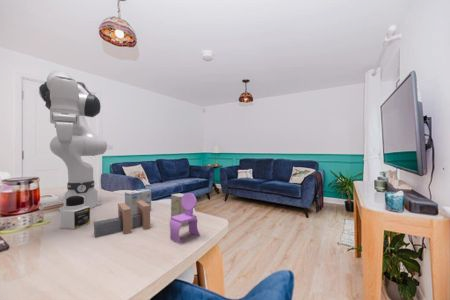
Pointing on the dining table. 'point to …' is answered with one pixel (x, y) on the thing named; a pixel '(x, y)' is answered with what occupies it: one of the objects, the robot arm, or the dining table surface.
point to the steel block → (115, 225)
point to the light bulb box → (137, 198)
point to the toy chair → (184, 218)
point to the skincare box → (177, 205)
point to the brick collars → (140, 208)
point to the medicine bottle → (74, 213)
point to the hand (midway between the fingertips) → (65, 155)
